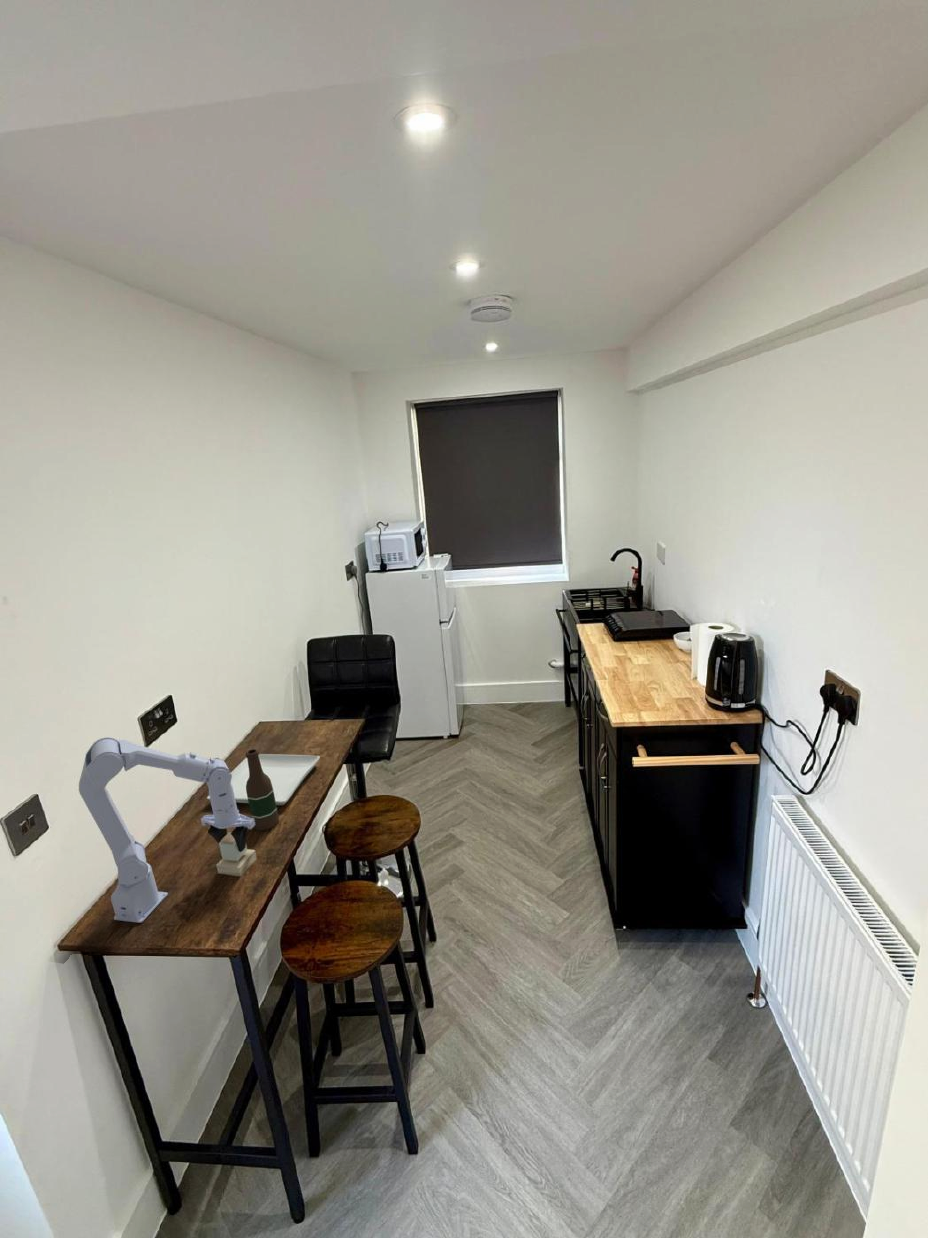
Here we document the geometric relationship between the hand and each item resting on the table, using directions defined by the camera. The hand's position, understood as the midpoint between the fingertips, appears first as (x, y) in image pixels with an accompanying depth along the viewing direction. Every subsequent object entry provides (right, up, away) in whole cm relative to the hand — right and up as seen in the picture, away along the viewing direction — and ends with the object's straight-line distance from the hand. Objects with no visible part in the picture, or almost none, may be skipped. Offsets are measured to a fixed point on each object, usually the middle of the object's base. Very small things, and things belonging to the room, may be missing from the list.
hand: (234, 848), depth 155 cm
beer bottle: (+2, 0, +19) cm, 19 cm away
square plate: (-4, +5, +40) cm, 40 cm away
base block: (0, -5, +2) cm, 6 cm away
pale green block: (0, -2, 0) cm, 2 cm away
